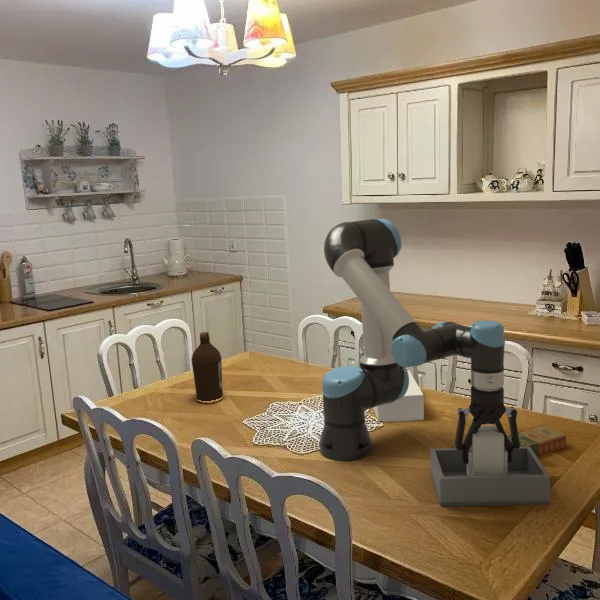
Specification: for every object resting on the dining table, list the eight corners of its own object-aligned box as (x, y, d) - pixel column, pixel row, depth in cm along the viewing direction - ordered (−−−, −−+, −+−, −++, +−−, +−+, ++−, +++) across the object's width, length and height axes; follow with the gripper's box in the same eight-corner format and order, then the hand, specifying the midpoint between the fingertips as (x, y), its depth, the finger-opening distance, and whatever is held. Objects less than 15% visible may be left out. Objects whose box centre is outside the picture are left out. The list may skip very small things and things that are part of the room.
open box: (440, 506, 145) (440, 478, 144) (430, 473, 161) (430, 448, 159) (549, 504, 143) (550, 476, 142) (529, 471, 159) (529, 446, 157)
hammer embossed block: (409, 393, 220) (409, 364, 218) (423, 420, 196) (423, 387, 194) (369, 395, 220) (368, 366, 218) (378, 423, 196) (377, 390, 194)
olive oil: (196, 406, 219) (189, 338, 214) (194, 396, 229) (188, 331, 224) (226, 402, 221) (220, 334, 216) (223, 393, 231) (217, 328, 226)
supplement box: (504, 487, 147) (504, 437, 145) (472, 485, 149) (472, 436, 146) (500, 472, 154) (501, 425, 152) (470, 471, 156) (470, 424, 153)
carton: (566, 448, 172) (567, 433, 171) (522, 461, 165) (522, 447, 164) (543, 437, 179) (543, 423, 178) (500, 450, 173) (500, 435, 172)
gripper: (446, 392, 144) (446, 482, 148) (536, 390, 142) (534, 481, 147) (440, 382, 151) (441, 468, 156) (526, 379, 150) (525, 466, 154)
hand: (486, 474), depth 151 cm, fingers closed on supplement box, 8 cm apart
